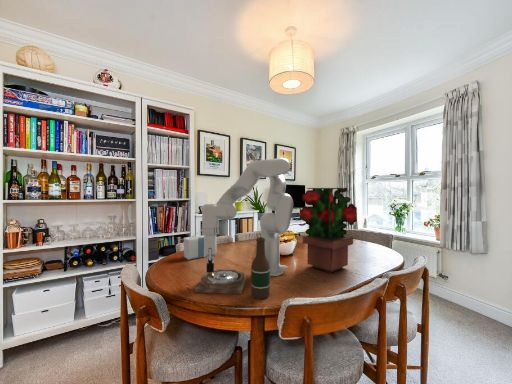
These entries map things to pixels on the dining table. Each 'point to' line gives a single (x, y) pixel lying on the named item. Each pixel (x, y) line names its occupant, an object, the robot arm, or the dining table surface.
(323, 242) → the potted plant
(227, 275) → the dial
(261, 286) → the beer bottle
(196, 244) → the stereo radio cassette player
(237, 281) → the dial housing
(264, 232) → the robot arm
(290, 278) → the dining table surface
